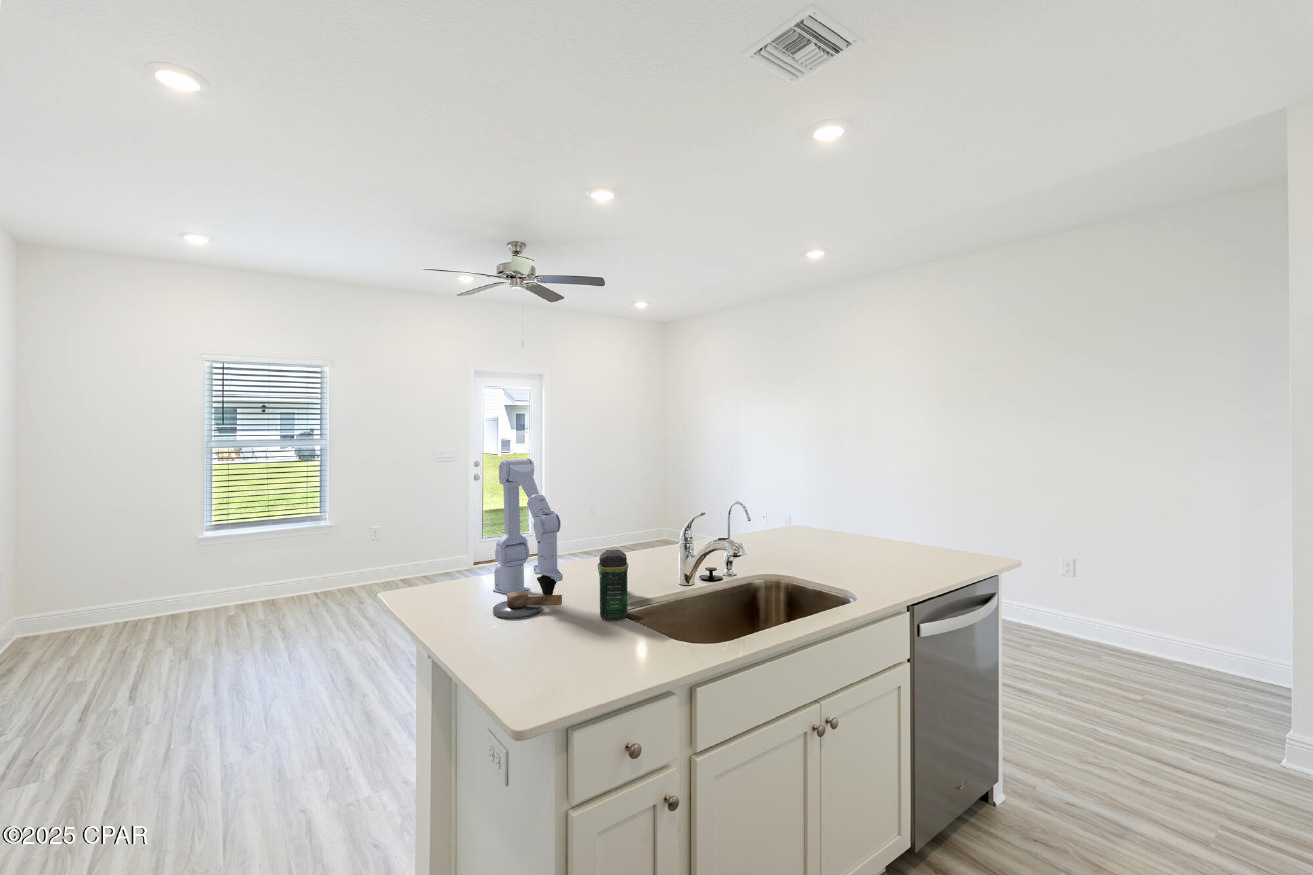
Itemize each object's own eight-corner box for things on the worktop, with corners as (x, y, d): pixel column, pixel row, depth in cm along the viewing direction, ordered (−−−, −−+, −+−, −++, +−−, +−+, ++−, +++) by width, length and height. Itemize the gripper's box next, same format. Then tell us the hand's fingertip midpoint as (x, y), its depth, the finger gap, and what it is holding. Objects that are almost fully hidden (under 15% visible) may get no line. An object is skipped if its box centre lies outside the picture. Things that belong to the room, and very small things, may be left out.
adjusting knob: (504, 607, 171) (504, 597, 171) (510, 601, 177) (510, 591, 177) (559, 607, 170) (559, 597, 170) (563, 601, 176) (563, 591, 176)
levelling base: (482, 614, 172) (482, 608, 172) (517, 601, 184) (517, 595, 184) (517, 622, 165) (517, 616, 164) (551, 608, 176) (551, 602, 176)
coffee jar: (628, 621, 164) (627, 554, 164) (599, 622, 164) (598, 555, 163) (627, 610, 174) (626, 547, 173) (600, 611, 173) (599, 547, 173)
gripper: (524, 552, 179) (524, 597, 179) (546, 561, 167) (547, 609, 168) (545, 549, 183) (546, 592, 184) (568, 557, 172) (569, 604, 172)
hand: (548, 600), depth 176 cm, fingers closed
